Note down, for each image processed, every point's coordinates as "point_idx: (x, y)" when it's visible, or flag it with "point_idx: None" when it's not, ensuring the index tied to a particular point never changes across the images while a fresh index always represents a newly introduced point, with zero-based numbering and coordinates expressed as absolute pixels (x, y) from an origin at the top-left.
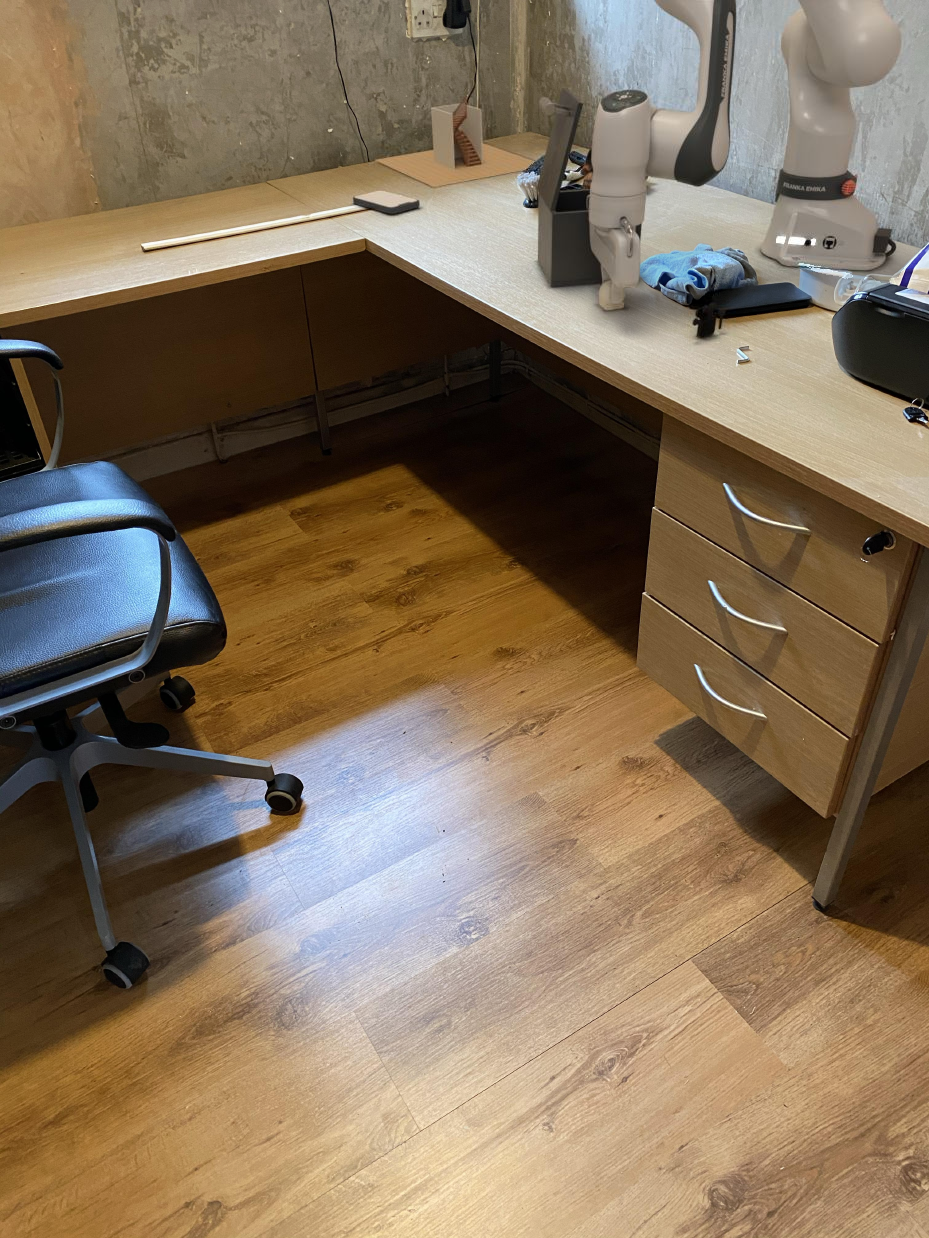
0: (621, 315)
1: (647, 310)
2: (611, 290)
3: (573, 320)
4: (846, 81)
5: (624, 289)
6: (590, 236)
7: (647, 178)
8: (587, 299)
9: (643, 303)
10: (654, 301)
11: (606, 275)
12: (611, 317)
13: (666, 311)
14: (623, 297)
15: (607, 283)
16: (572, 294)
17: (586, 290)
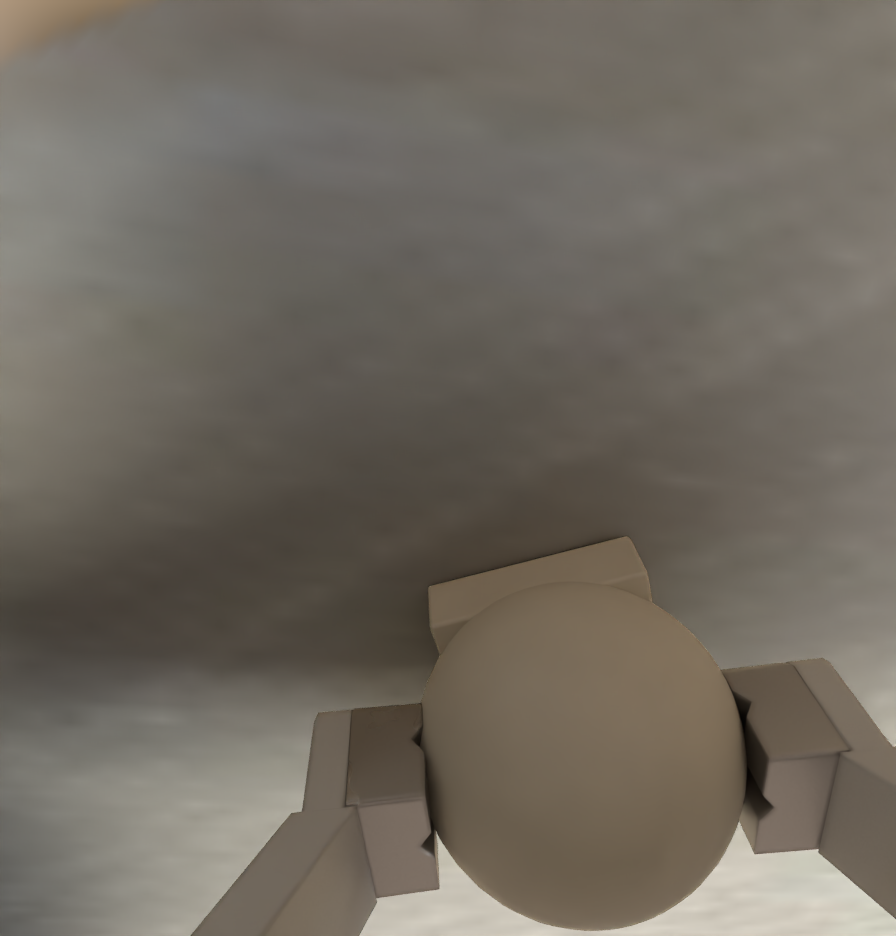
0: (811, 568)
1: (764, 280)
2: (865, 874)
3: (782, 884)
4: None
5: (648, 670)
6: None
7: None
8: None
9: (512, 293)
10: (459, 122)
11: (340, 927)
12: (827, 651)
13: (889, 7)
14: (670, 620)
15: (648, 919)
16: (190, 882)
17: (72, 793)
